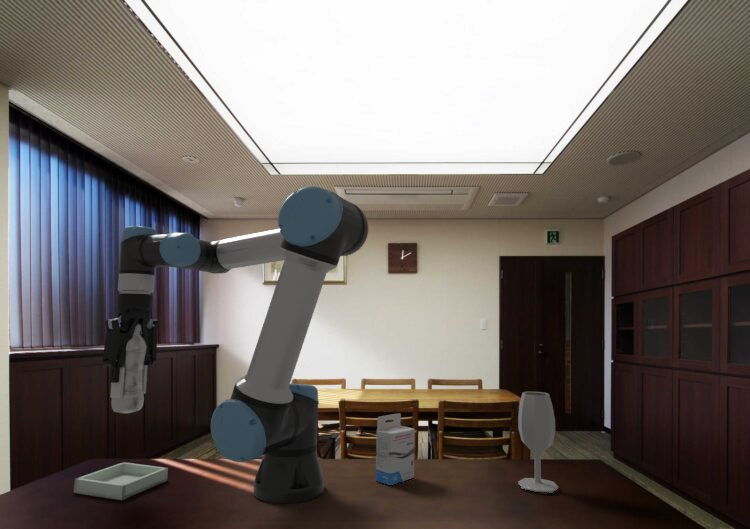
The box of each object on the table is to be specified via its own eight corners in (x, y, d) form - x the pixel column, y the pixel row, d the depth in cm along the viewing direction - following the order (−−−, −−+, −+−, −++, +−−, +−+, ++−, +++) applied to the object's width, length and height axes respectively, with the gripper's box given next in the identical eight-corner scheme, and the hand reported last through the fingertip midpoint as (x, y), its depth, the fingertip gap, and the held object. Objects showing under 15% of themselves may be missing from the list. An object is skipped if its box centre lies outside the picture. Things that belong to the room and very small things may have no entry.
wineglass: (516, 491, 106) (514, 394, 108) (520, 479, 114) (518, 389, 116) (558, 497, 103) (555, 397, 105) (559, 484, 111) (556, 392, 113)
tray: (167, 480, 110) (167, 467, 110) (121, 500, 98) (122, 486, 98) (122, 474, 114) (123, 462, 114) (73, 492, 102) (74, 478, 102)
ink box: (390, 487, 108) (390, 420, 109) (374, 481, 111) (375, 416, 113) (415, 479, 114) (415, 415, 115) (399, 474, 117) (400, 412, 119)
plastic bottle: (130, 416, 104) (136, 323, 106) (103, 414, 105) (110, 323, 107) (149, 411, 110) (155, 323, 112) (123, 409, 111) (129, 323, 114)
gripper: (152, 295, 121) (146, 389, 118) (87, 290, 103) (78, 400, 100) (177, 295, 119) (171, 390, 116) (115, 290, 101) (106, 403, 98)
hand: (128, 395), depth 108 cm, fingers closed on plastic bottle, 6 cm apart
